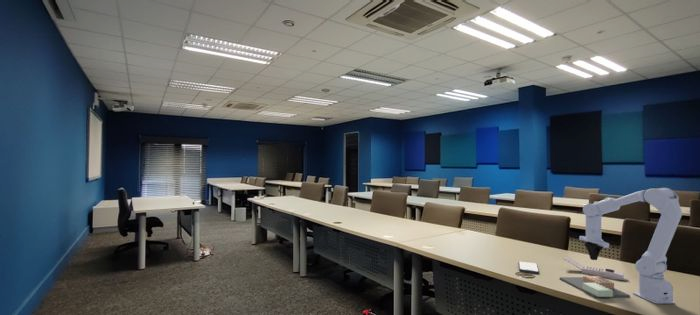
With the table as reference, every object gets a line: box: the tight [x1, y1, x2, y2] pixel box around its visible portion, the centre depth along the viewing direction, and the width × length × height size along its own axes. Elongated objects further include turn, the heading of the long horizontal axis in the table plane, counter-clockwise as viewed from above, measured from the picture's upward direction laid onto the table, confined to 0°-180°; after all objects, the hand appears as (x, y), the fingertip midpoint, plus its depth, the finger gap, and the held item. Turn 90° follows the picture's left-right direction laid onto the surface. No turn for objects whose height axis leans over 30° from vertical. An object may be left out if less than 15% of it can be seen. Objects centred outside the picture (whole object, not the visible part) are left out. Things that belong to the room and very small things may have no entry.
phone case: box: [518, 261, 540, 275], centre depth 161 cm, size 9×2×16 cm
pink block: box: [582, 275, 615, 289], centre depth 136 cm, size 8×7×3 cm
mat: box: [559, 276, 631, 298], centre depth 136 cm, size 20×14×1 cm
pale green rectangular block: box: [582, 283, 614, 298], centre depth 128 cm, size 8×6×3 cm
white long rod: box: [562, 256, 630, 282], centre depth 153 cm, size 6×6×25 cm
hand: (593, 259), depth 144 cm, fingers closed
